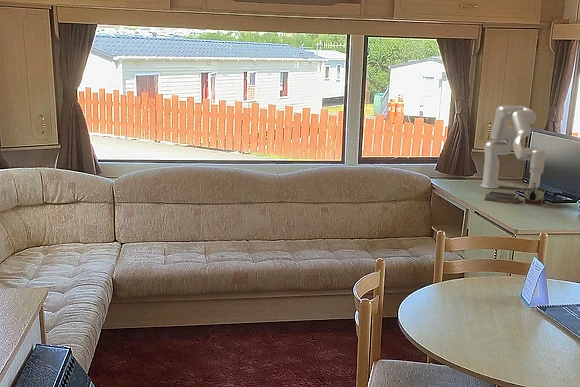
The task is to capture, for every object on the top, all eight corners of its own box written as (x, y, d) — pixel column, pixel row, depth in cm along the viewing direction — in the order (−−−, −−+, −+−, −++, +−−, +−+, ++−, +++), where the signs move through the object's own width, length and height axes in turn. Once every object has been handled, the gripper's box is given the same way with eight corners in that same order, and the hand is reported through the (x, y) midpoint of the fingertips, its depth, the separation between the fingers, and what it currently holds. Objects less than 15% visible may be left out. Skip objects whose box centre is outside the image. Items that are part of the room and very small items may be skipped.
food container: (543, 203, 339) (545, 187, 337) (544, 205, 333) (546, 189, 331) (521, 201, 343) (523, 185, 341) (521, 203, 337) (523, 187, 335)
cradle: (488, 196, 355) (489, 190, 354) (518, 199, 347) (519, 194, 346) (484, 200, 344) (485, 194, 343) (515, 204, 336) (516, 198, 335)
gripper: (531, 167, 343) (528, 195, 347) (527, 171, 328) (524, 200, 332) (544, 169, 339) (541, 196, 343) (541, 173, 325) (538, 202, 328)
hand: (533, 198), depth 337 cm, fingers open, 9 cm apart
